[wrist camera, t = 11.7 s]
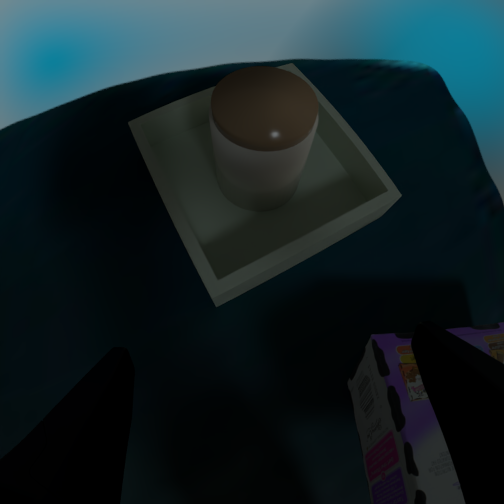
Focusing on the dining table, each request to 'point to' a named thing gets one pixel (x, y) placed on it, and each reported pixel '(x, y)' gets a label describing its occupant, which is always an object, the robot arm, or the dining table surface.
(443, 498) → the candy box
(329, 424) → the dining table surface
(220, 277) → the bin
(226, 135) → the jar
